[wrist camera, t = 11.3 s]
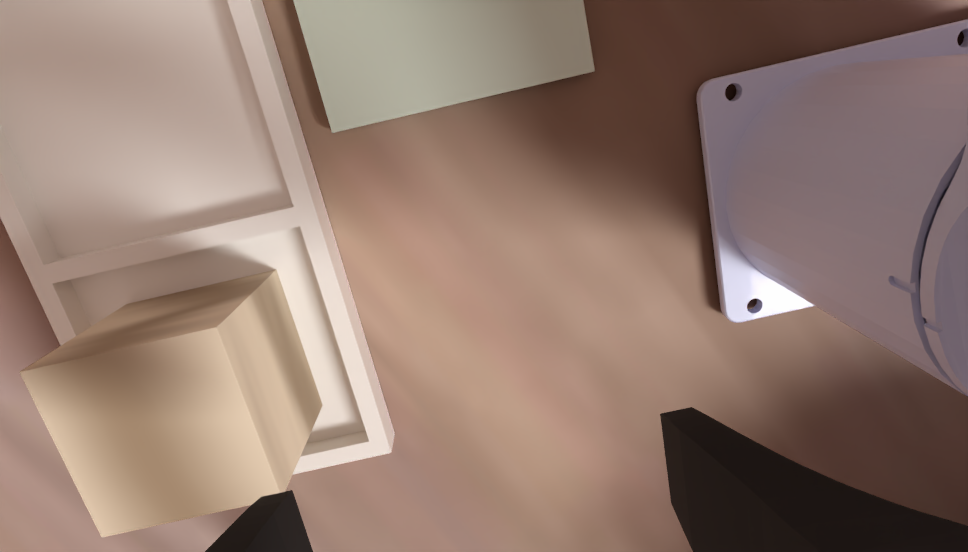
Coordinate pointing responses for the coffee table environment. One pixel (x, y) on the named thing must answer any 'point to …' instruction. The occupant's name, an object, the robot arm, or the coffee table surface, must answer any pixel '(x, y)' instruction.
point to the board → (436, 52)
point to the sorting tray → (175, 182)
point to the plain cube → (180, 403)
